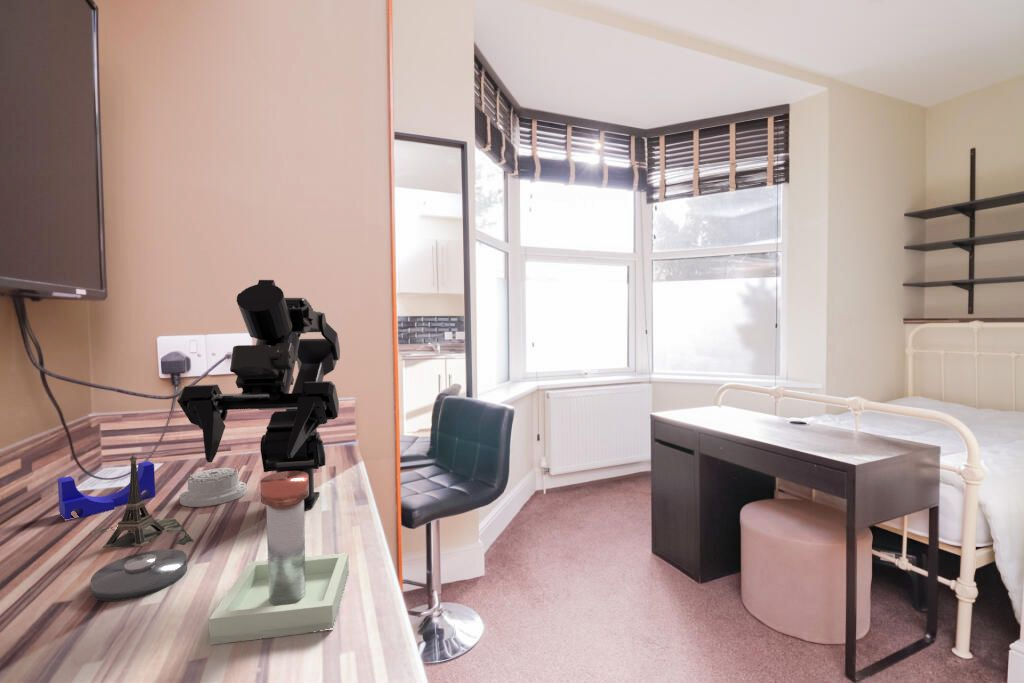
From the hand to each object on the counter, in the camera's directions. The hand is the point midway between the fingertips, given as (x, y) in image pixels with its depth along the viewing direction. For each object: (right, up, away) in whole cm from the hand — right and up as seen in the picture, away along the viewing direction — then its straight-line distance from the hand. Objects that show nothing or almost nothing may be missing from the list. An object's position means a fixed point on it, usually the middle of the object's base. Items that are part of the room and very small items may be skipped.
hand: (249, 458), depth 59 cm
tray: (+8, -14, -8) cm, 18 cm away
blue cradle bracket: (-35, -13, +21) cm, 43 cm away
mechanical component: (-20, -13, +25) cm, 35 cm away
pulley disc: (-12, -14, -2) cm, 18 cm away
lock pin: (+8, -13, -8) cm, 17 cm away
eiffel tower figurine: (-20, -14, +9) cm, 26 cm away
